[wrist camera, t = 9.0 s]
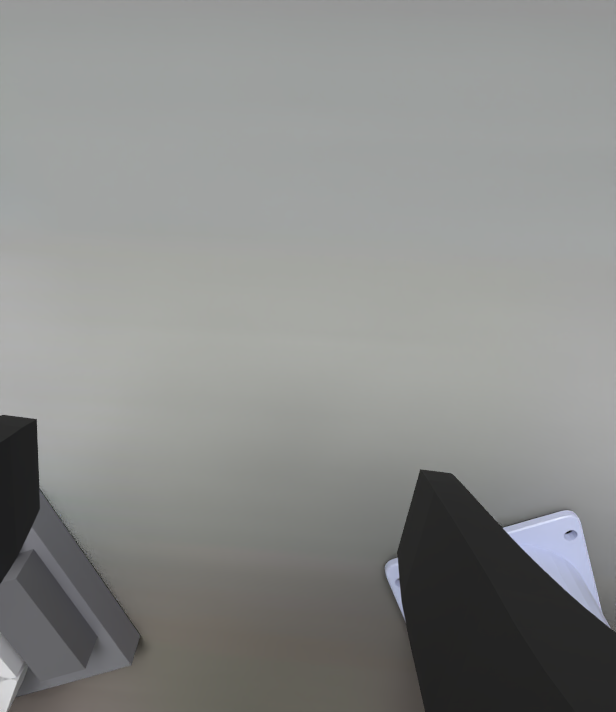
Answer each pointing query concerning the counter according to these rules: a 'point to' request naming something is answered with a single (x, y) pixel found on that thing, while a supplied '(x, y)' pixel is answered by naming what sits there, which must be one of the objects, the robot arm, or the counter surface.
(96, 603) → the grey square plate
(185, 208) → the counter surface
